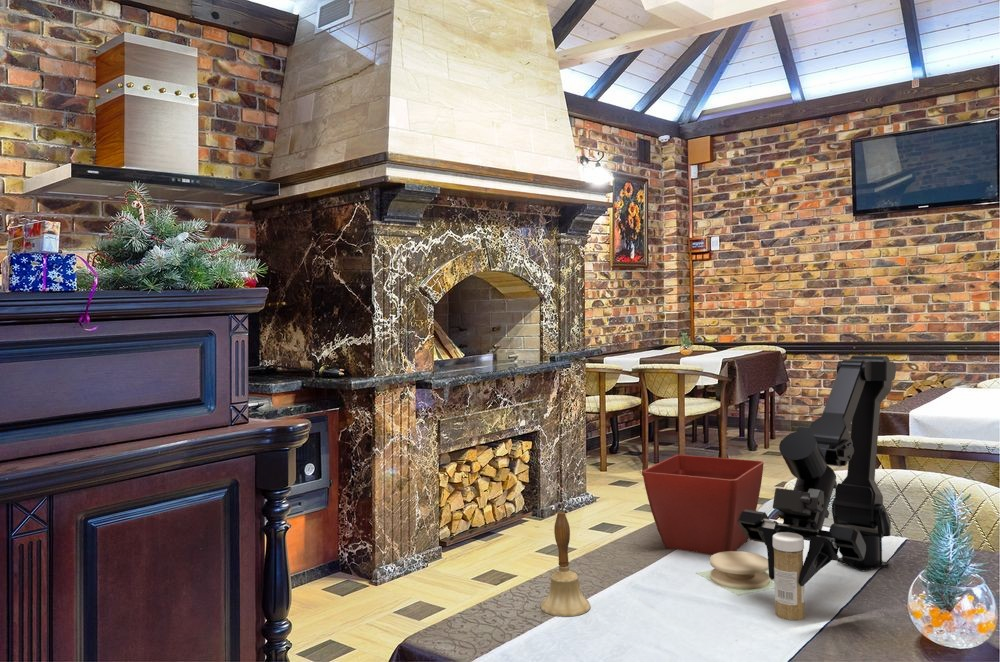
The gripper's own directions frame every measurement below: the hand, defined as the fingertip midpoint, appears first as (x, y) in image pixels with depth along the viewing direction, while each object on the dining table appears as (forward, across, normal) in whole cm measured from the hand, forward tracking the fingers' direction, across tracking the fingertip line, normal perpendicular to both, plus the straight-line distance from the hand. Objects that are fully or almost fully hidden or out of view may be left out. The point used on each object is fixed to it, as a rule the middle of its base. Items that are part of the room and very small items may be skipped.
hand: (785, 581), depth 121 cm
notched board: (-5, -12, +14) cm, 19 cm away
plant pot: (-14, -28, +24) cm, 39 cm away
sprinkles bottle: (+4, 0, +6) cm, 7 cm away
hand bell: (+16, -31, -6) cm, 35 cm away
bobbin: (-4, -13, +12) cm, 18 cm away
